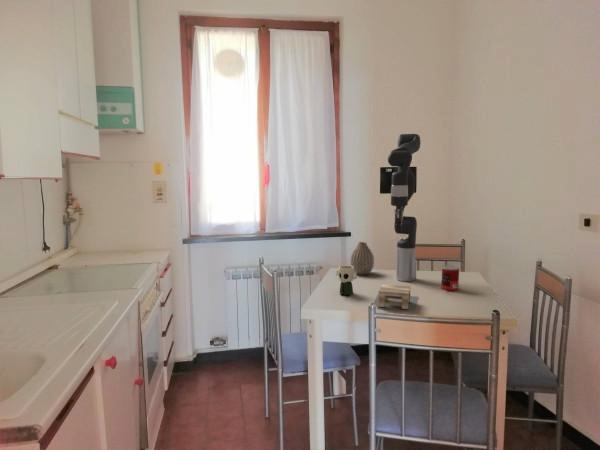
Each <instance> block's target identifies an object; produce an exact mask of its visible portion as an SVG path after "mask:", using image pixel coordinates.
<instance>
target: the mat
mask: <svg viewBox="0 0 600 450" xmlns="http://www.w3.org/2000/svg"><path fill="white" fill-rule="evenodd" d="M418 300H419V296H417V295H415V296H414V295H410V303H409V306H408V310H402V306H397V305H385V308H378V302H379V293H377V295H376V297H375V299H374V301H373V303H374V304H375V305H376V307H377V309H376V310H382V311H395V312H403V313H405V312H406V313H416V311H417V306H418ZM388 301H393V302H402V299H392V298H388Z"/></svg>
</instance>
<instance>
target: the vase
mask: <svg viewBox="0 0 600 450" xmlns="http://www.w3.org/2000/svg"><path fill="white" fill-rule="evenodd" d="M349 262H350V266H353V267H354V272H356V273H357V276H367V275H369V274H370V273H371V272H372V271H373V269H374V267H375V256H374V253H373V252H372V250H371V248H369V246H368V244H367V242H365V241H359V242H358V244H357V246H356V247H355V249H354V250H353V251H352V254H351V256H350V261H349Z"/></svg>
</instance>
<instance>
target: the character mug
mask: <svg viewBox="0 0 600 450" xmlns="http://www.w3.org/2000/svg"><path fill="white" fill-rule="evenodd" d="M335 273H336V275H335V276H337V277H338V280H339V281H340V285H339V294H340V295H345V296H350V295H352V294H353V293H354V287H353V283H352V282H353V281H354V280H357V276H358V274H357V273H356V272H354V267H353V266H351V265H348V264H346V265H340V266H338V269H336V271H335Z"/></svg>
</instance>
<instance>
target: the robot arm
mask: <svg viewBox="0 0 600 450" xmlns="http://www.w3.org/2000/svg"><path fill="white" fill-rule="evenodd" d="M420 147H421V136H420V135H419V134H418V133H401V134H399V135H398V138H397V148H395V149H392V150H391V151H390V152H389V153H388V155H387V163H388V164H389V166H391V167H397V171H394V172H392V174H391V188H390V205H391V206H393V207H395V209H393V210H394V213H393V214H394V225H393V226H394V228H393V229H394V231H395V233H396V235H397V234H399V235H408V236H407V237H405V238H404V239H401V240H398V241H397V244H396V280H397V281H400V282H414V281H415V280H417V261H416V244H417V241H416V240H417V230H418V229H417V227H418V223H417V218H416V217H415V216H407V215H406V216H404V213H405V208H406V206H408V205H409V203H408V202H409V201H410V200H411V198H412V197H413V195H414V193H415V191H416V177H415V174H414V173H413V171H412V169H411V168H410V167H411V164H412V162H413V161H412V160H413V154H415V153H417V152H418V151H419V150H420Z"/></svg>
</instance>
